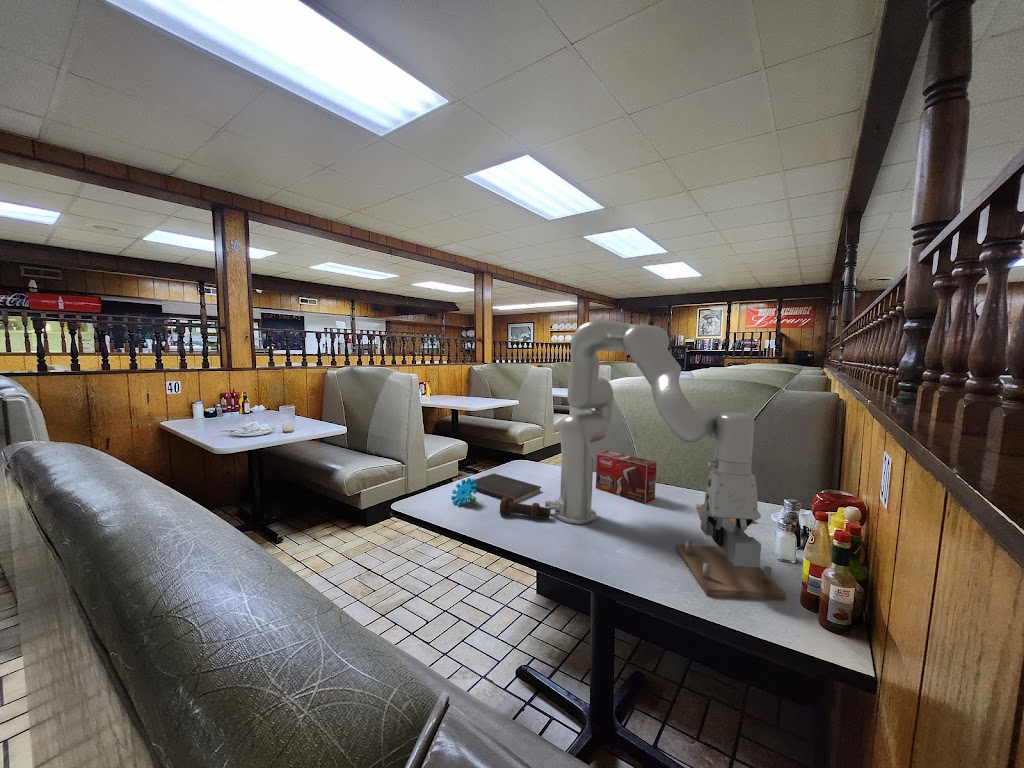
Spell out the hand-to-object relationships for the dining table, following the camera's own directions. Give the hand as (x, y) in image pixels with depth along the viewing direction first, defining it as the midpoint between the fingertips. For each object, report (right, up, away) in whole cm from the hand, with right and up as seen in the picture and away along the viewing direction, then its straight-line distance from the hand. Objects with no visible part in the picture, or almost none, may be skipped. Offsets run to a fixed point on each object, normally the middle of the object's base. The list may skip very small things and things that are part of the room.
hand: (727, 543), depth 96 cm
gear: (-65, -2, +40) cm, 77 cm away
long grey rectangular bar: (0, -1, 0) cm, 1 cm away
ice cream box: (-10, -2, +52) cm, 53 cm away
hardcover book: (-53, -2, +54) cm, 76 cm away
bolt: (-46, -4, +30) cm, 55 cm away
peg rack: (0, -7, +1) cm, 7 cm away
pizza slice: (+10, -5, +32) cm, 34 cm away
